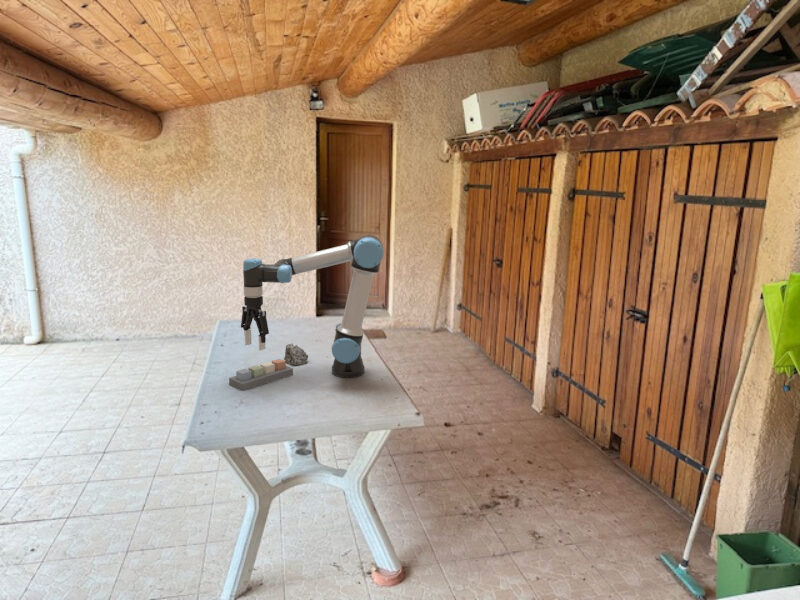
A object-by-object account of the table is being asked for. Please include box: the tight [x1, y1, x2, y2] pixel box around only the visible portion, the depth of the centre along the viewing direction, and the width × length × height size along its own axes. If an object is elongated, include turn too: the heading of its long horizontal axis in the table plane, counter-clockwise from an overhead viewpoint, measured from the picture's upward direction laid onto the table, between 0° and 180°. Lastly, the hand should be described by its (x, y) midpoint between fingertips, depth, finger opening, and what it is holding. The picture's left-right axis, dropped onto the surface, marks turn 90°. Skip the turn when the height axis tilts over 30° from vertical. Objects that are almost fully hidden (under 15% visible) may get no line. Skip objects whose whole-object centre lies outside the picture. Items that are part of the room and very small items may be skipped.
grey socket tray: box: [228, 365, 294, 392], centre depth 224 cm, size 10×26×3 cm, turn 140°
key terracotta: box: [271, 358, 287, 371], centre depth 230 cm, size 4×4×4 cm
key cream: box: [259, 361, 275, 374], centre depth 226 cm, size 4×4×4 cm
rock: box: [283, 343, 309, 366], centre depth 247 cm, size 13×10×10 cm
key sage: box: [248, 364, 263, 378], centre depth 221 cm, size 4×4×4 cm
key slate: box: [235, 368, 251, 382], centre depth 217 cm, size 4×4×4 cm
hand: (255, 347), depth 219 cm, fingers open, 9 cm apart
